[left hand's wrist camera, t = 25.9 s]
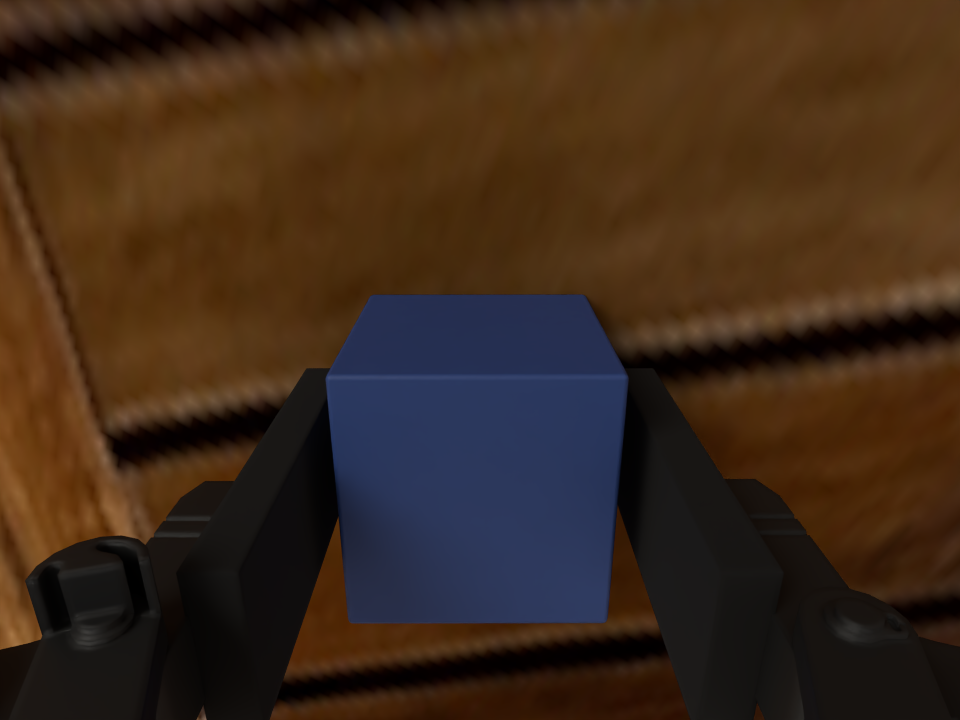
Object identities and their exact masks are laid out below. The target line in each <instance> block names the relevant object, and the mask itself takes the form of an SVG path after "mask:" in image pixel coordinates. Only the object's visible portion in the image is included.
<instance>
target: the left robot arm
mask: <svg viewBox="0 0 960 720" xmlns="http://www.w3.org/2000/svg"><path fill="white" fill-rule="evenodd" d="M624 369H625V371H626V373H627V375H628V378H629V381H628V392H627V403H626V415H625V426H624V437H623V448H622V460H621V471H620V482H619V494H618V507H619V510H620V513H621V516H622V519H623V522H624V525H625V528H626V531H627V534H628V536H629V539H630V542H631V545H632V548H633V551H634V554H635V557H636V560H637V563H638V566H639V569H640V572H641V575H642V578H643V581H644V584H645V587H646V590H647V593H648V596H649V599H650V601H651V604H652V607H653V610H654V613H655V616H656V619H657V622H658V625H659V628H660V631H661V634H662V637H663V640H664V643H665V646H666V649H667V652H668V655H669V658H670V661H671V663H672V666H673V669H674V672H675V675H676V678H677V681H678V684H679V687H680V690H681V693H682V696H683V699H684V702H685V705H686V708H687V711H688V714H689V717H690V720H753V719H754V714H755V709H756V704H757V703H758V705H759V707H760V710H761V712H762V714H763V716H764V718H765V720H960V647H958V646H953V645H949V644H945V643H940V642H936V641H932V640H928V639H925V638H922V637H918V635H917V633H916V632H915V630H914V629H913V627H912V626H911V624H910V623H909V621H908V620H907V619H906V618H905V617H904V616H902V615H901V614H900V613H899V612H897V611H896V610H895V609H894V608H893V607H891V606H890V605H888V604H886V603H884V602H882V601H880V600H879V599H877V598H875V597H873V596H871V595H869V594H865V593H862V592H859V591H855V590H852V589H849V587H848V586H847V585H846V583H845V582H844V581H843V579H842V578H841V577H840V575H839V574H838V573H837V571H836V570H835V569H834V567H833V566H832V565H831V563H830V562H829V561H828V559H827V558H826V557H825V555H824V554H823V553H822V551H821V550H820V549H819V547H818V546H817V545H816V543H815V542H814V541H813V539H812V538H811V537H810V536H809V535H806V530H805V529H804V528H803V526H802V525H801V524H800V522H799V521H798V520H797V519H794V514H793V513H792V512H791V510H790V509H789V508H788V506H787V505H786V504H785V502H784V501H783V500H782V498H781V497H780V496H779V495H778V494H776V493H775V492H773V491H772V490H770V489H769V488H767V487H766V486H765V485H763V484H762V483H760V482H759V481H757V480H756V479H724V478H723V477H722V475H721V473H720V472H719V470H718V469H717V467H716V466H715V464H714V463H713V461H712V459H711V458H710V456H709V455H708V453H707V452H706V450H705V448H704V447H703V445H702V444H701V442H700V441H699V439H698V438H697V436H696V434H695V433H694V431H693V430H692V428H691V427H690V425H689V423H688V422H687V420H686V419H685V417H684V416H683V414H682V413H681V411H680V409H679V408H678V406H677V405H676V403H675V402H674V400H673V399H672V397H671V395H670V394H669V392H668V391H667V389H666V388H665V386H664V384H663V383H662V381H661V380H660V378H659V377H658V375H657V374H656V372H655V370H654V369H653V368H624ZM329 370H330V368H307V369H306V370H305V372H304V373H303V375H302V377H301V378H300V380H299V381H298V383H297V384H296V386H295V388H294V389H293V391H292V392H291V394H290V395H289V397H288V398H287V400H286V402H285V403H284V405H283V406H282V408H281V409H280V411H279V413H278V414H277V416H276V417H275V419H274V420H273V422H272V423H271V425H270V427H269V428H268V430H267V431H266V433H265V434H264V436H263V438H262V439H261V441H260V442H259V444H258V445H257V447H256V448H255V450H254V452H253V453H252V455H251V456H250V458H249V459H248V461H247V462H246V464H245V466H244V467H243V469H242V470H241V472H240V473H239V475H238V477H237V478H236V480H235V481H205V482H203V483H202V484H200V485H199V486H197V487H196V488H195V489H193V490H192V491H190V492H189V493H187V494H186V495H184V496H183V497H181V498H180V500H179V501H178V502H177V504H176V505H175V506H174V508H173V509H172V510H171V512H170V513H169V514H168V516H167V517H166V521H163V522H162V524H161V525H160V526H159V528H158V529H157V530H156V532H155V533H154V538H150V540H149V541H148V542H147V544H146V545H145V544H143V543H142V542H141V541H140V540H138V539H135V538H130V537H126V536H107V537H98V538H94V539H90V540H87V541H83V542H79V543H76V544H74V545H72V546H69V547H67V548H65V549H63V550H61V551H58V552H56V553H54V554H53V555H52V556H50V557H49V558H47V559H46V560H45V561H43V562H42V563H40V564H39V565H38V566H36V568H35V569H34V570H33V571H32V573H31V574H30V575H29V576H28V578H27V579H26V580H25V582H26V585H27V588H28V591H29V595H30V598H31V601H32V604H33V607H34V610H35V614H36V617H37V620H38V623H39V626H40V630H41V633H42V638H41V640H38V641H34V642H31V643H28V644H23V645H19V646H15V647H10V648H6V649H1V650H0V720H196V719H197V717H198V715H199V713H200V711H201V709H202V706H203V705H204V709H205V714H206V719H207V720H270V717H271V714H272V711H273V708H274V705H275V702H276V699H277V696H278V693H279V690H280V687H281V684H282V681H283V678H284V675H285V672H286V669H287V666H288V663H289V660H290V658H291V655H292V652H293V649H294V646H295V643H296V640H297V637H298V634H299V631H300V628H301V625H302V622H303V619H304V616H305V613H306V610H307V607H308V604H309V601H310V598H311V596H312V593H313V590H314V587H315V584H316V581H317V578H318V575H319V572H320V569H321V566H322V563H323V560H324V557H325V554H326V551H327V548H328V545H329V542H330V539H331V536H332V533H333V531H334V528H335V525H336V522H337V519H338V516H339V515H338V505H337V494H336V483H335V473H334V462H333V452H332V441H331V430H330V420H329V409H328V399H327V388H326V376H327V374H328V372H329Z"/></svg>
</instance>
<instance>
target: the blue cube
mask: <svg viewBox="0 0 960 720" xmlns="http://www.w3.org/2000/svg"><path fill="white" fill-rule="evenodd" d="M628 381H629V378H628V375H627V373H626V371H625V369H624V367H623V366H622V364H621V362H620V360H619V358H618V356H617V354H616V352H615V351H614V349H613V347H612V345H611V343H610V341H609V339H608V337H607V336H606V334H605V332H604V330H603V328H602V326H601V324H600V322H599V321H598V319H597V317H596V315H595V313H594V311H593V309H592V307H591V306H590V304H589V302H588V300H587V298H586V296H584V295H372V296H370V298H369V300H368V302H367V303H366V305H365V307H364V309H363V311H362V312H361V314H360V316H359V318H358V320H357V322H356V323H355V325H354V327H353V329H352V331H351V332H350V334H349V336H348V338H347V340H346V341H345V343H344V345H343V347H342V349H341V350H340V352H339V354H338V356H337V358H336V359H335V361H334V363H333V365H332V367H331V368H330V370H329V372H328V374H327V376H326V388H327V399H328V409H329V420H330V430H331V441H332V452H333V462H334V473H335V483H336V494H337V505H338V515H339V526H340V536H341V547H342V558H343V568H344V579H345V589H346V600H347V611H348V619H349V621H350V622H351V623H604V622H606V621H607V618H608V606H609V595H610V584H611V572H612V561H613V550H614V539H615V527H616V516H617V505H618V494H619V482H620V471H621V460H622V448H623V437H624V426H625V415H626V403H627V392H628Z"/></svg>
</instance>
